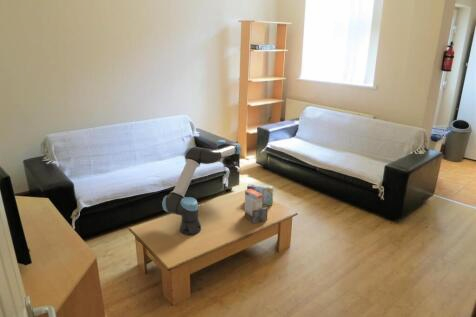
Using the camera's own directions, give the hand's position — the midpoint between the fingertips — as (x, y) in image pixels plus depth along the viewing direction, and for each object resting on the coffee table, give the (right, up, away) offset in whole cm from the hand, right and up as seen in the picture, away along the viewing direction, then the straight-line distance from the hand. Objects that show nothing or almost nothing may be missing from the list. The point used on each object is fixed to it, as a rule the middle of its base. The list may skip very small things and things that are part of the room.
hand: (239, 170), depth 275 cm
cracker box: (+10, -36, -10) cm, 38 cm away
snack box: (+17, -28, +13) cm, 35 cm away
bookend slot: (+12, -36, -11) cm, 39 cm away
